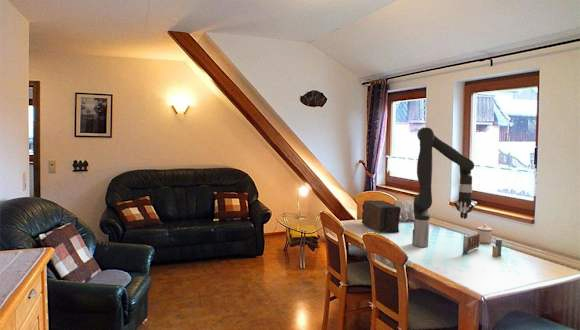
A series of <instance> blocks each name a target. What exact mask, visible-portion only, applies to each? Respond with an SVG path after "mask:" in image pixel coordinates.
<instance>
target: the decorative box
mask: <svg viewBox="0 0 580 330" xmlns="http://www.w3.org/2000/svg"><path fill="white" fill-rule="evenodd" d="M400 211H401V208H400V207H398V206H395V204H392V203H391V202H387V201H384V200H371V199H370V200H368V199H367V200H364V201H363V210H362V219H361V223H362V224H363V225H365V226H366V227H369V228H371V229H372V230H374V231H375V232H378V233H383V234H384V233H389V234H391V233H393V234H394V233H395V234H396V233H399V232H400V230H399V229H400V228H399V225H400V218H401V215H400Z"/></svg>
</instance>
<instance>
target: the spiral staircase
mask: <svg viewBox="0 0 580 330" xmlns="http://www.w3.org/2000/svg"><path fill="white" fill-rule="evenodd" d="M394 205H395V206H398V207H400V208H401V211H400V218H401V220H402V221H403V222H405V221H407V218H408V220H409V221H411V222H413V221H414V199H411V201H410V200H408V199H405V200H400V199H398V200H397V201H395V204H394Z"/></svg>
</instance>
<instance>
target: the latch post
mask: <svg viewBox="0 0 580 330" xmlns="http://www.w3.org/2000/svg"><path fill="white" fill-rule="evenodd" d="M502 244H503V239H501V238H495V245H492V251H491V252H492V255H491V256H492V257H496V258H497V257H499V256H502V246H503V245H502Z"/></svg>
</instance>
